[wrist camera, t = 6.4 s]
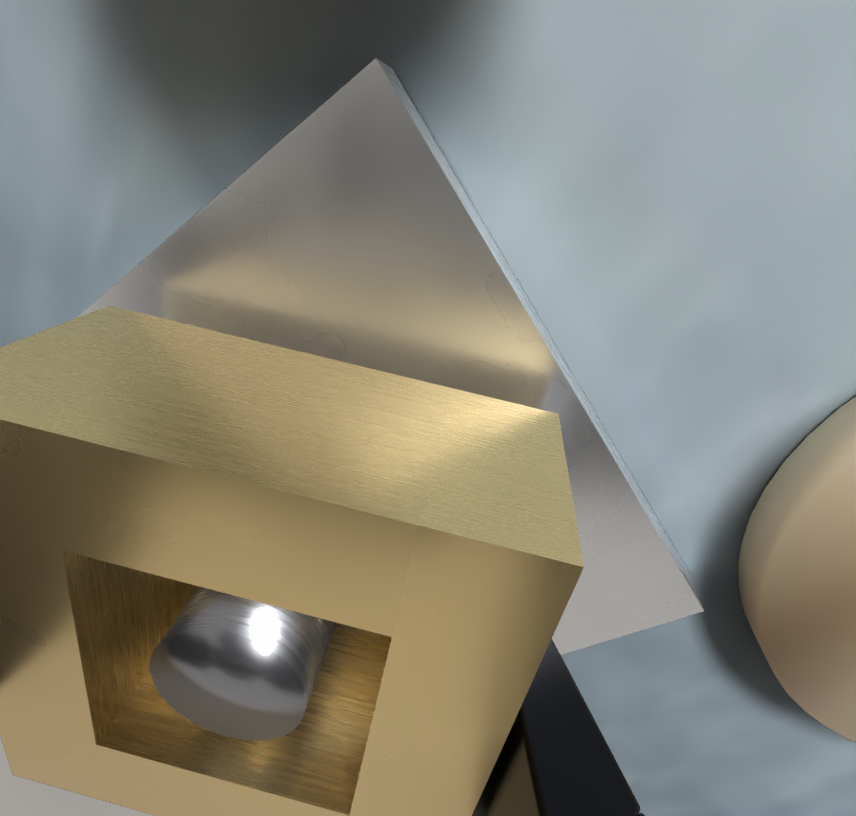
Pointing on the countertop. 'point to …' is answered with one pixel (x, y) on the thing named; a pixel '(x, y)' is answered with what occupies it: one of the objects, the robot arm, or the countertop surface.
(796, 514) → the stand
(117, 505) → the brass square sleeve
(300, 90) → the countertop surface
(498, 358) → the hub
